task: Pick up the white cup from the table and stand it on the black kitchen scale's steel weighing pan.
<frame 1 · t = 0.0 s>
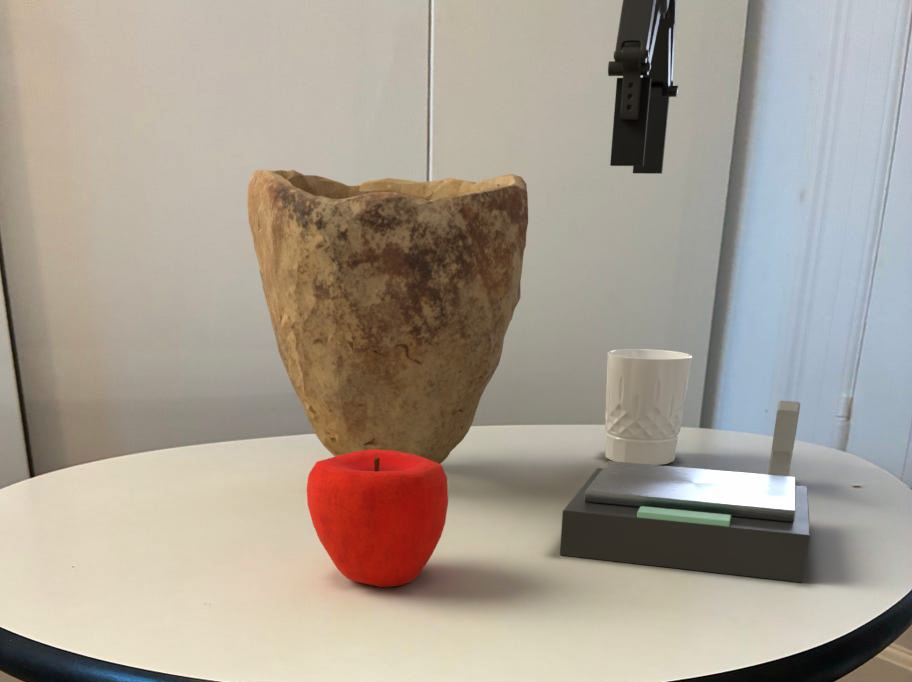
hand: (637, 170, 92), 26 cm above the table, tool pointing down, fingers open, 13 cm apart
scale pan: (693, 488, 74), point 4 cm above the table, slide at -0.3 cm
scale: (686, 540, 75), on the table
lighter: (776, 491, 90), on the table
bowl: (388, 479, 91), on the table
white cup: (639, 460, 101), on the table
apple: (377, 580, 66), on the table
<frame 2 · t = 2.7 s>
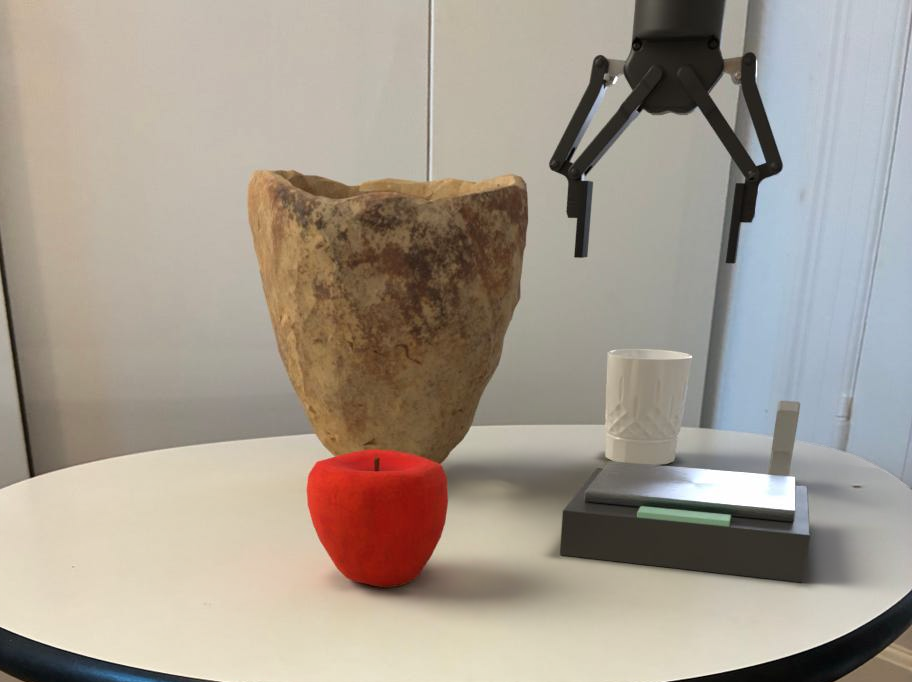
hand: (654, 260, 94), 18 cm above the table, tool pointing down, fingers open, 13 cm apart
nothing on the table moved.
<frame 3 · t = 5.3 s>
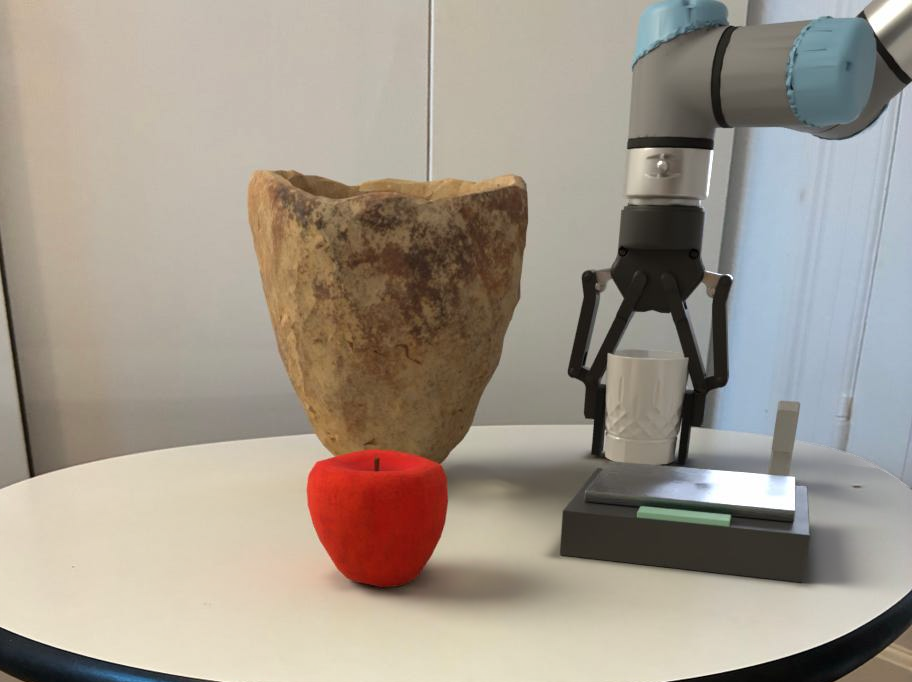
hand: (639, 455, 100), 0 cm above the table, tool pointing down, fingers closed on white cup, 8 cm apart
white cup: (638, 460, 101), on the table, touching gripper
everything else where it was.
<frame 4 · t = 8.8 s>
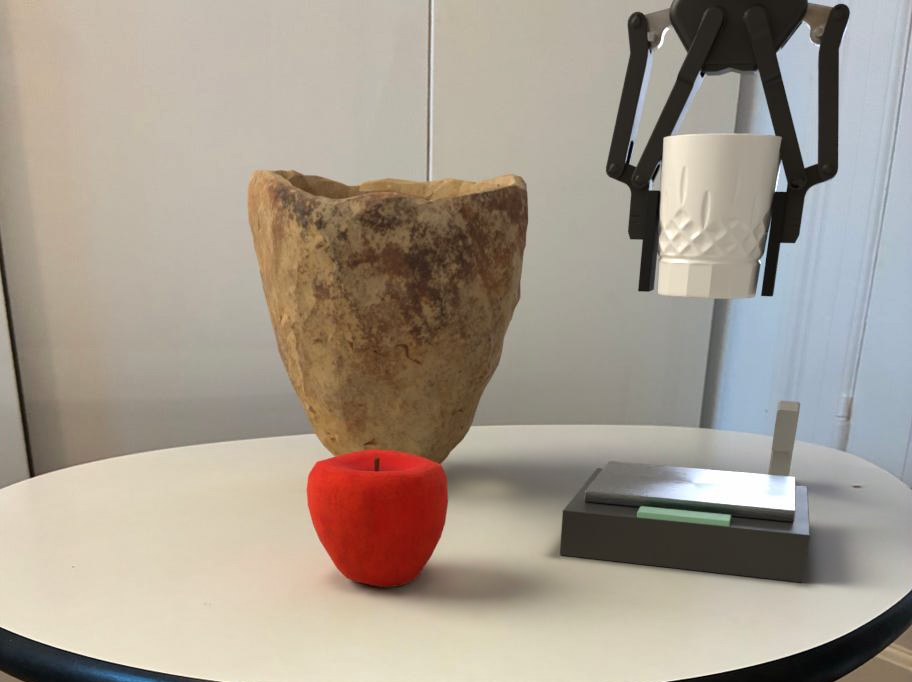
hand: (705, 292, 72), 17 cm above the table, tool pointing down, fingers closed on white cup, 8 cm apart
white cup: (704, 299, 72), point 17 cm above the table, touching gripper
everything else where it was.
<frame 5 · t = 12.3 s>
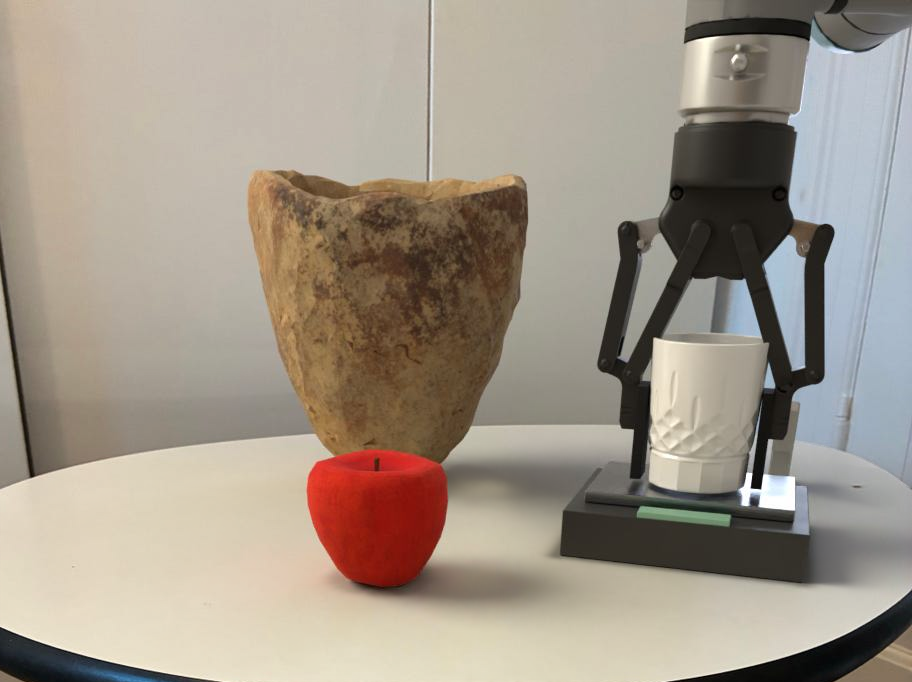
hand: (695, 479, 73), 5 cm above the table, tool pointing down, fingers closed on white cup, 8 cm apart
white cup: (695, 486, 73), point 4 cm above the table, touching gripper
everything else where it was.
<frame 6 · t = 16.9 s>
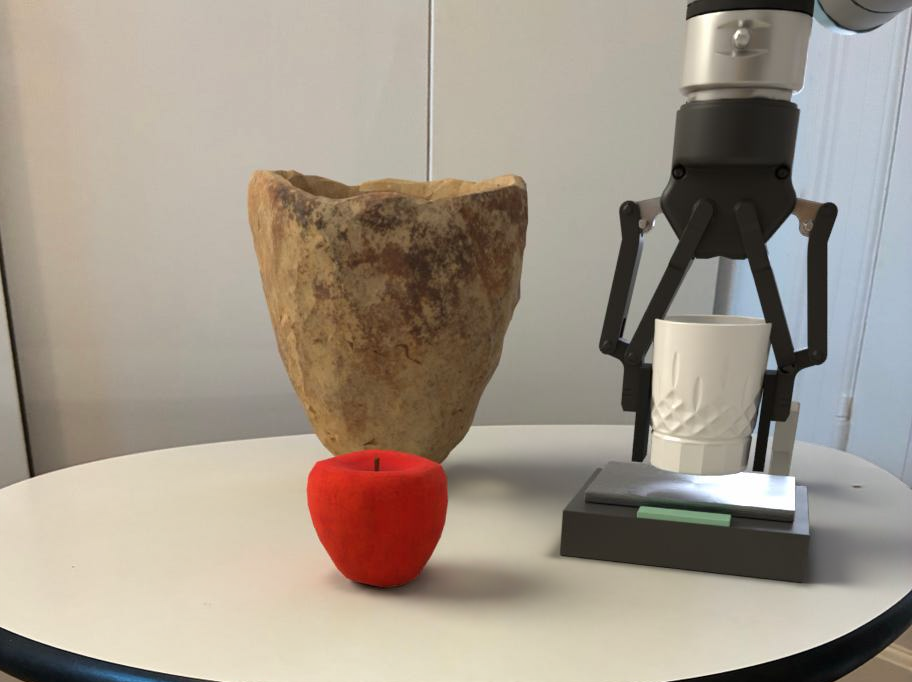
hand: (697, 462, 73), 6 cm above the table, tool pointing down, fingers closed on white cup, 8 cm apart
white cup: (697, 469, 73), point 5 cm above the table, touching gripper
everything else where it was.
when the fingers open (6 cm above the table, at t = 21.0 s): white cup drops 1 cm, resting on scale pan.
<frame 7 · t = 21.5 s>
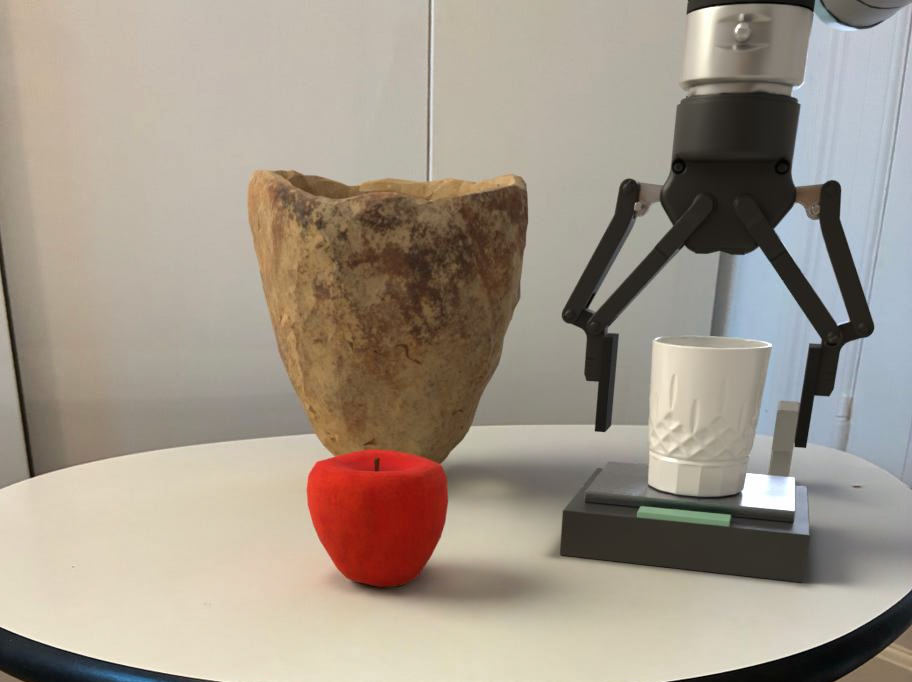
hand: (698, 436, 72), 8 cm above the table, tool pointing down, fingers open, 13 cm apart
scale pan: (693, 489, 74), point 4 cm above the table, slide at -0.4 cm, touching white cup
white cup: (694, 489, 73), point 4 cm above the table, touching scale pan
everything else where it was.
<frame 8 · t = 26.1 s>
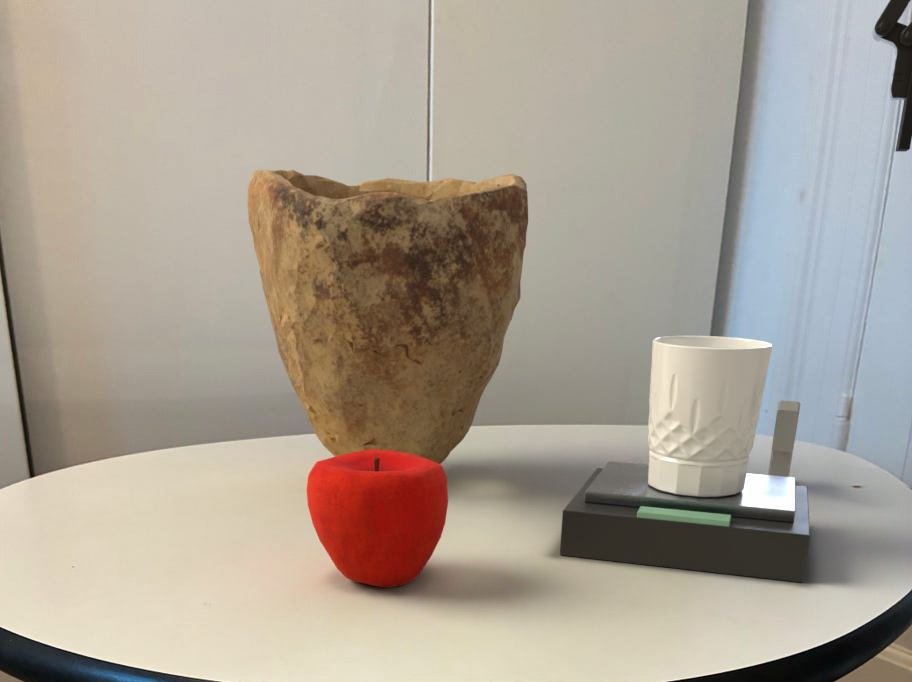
nothing on the table moved.
at the end: white cup inside the target area on the scale (0.5 cm from its centre), point 3.8 cm above the scale's base; white cup tilted 0°; the gripper is holding nothing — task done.
